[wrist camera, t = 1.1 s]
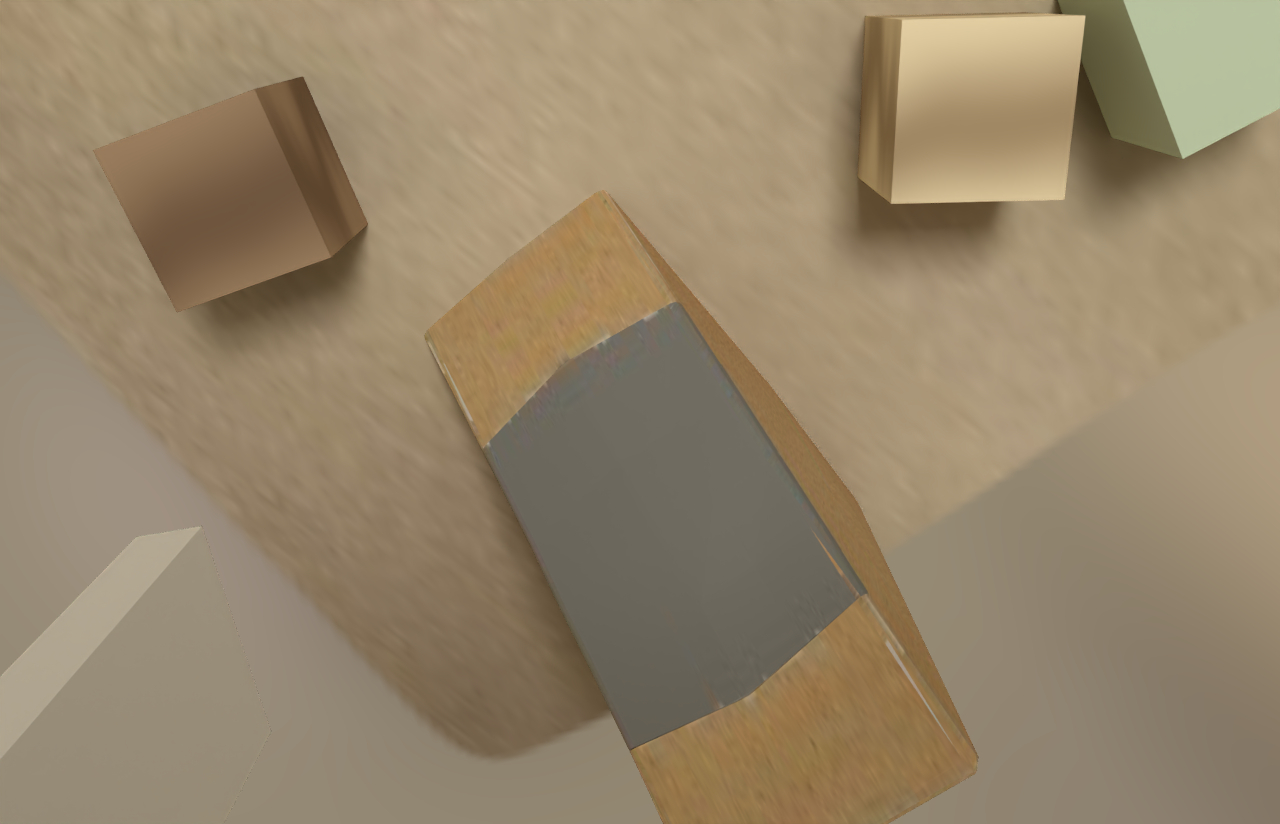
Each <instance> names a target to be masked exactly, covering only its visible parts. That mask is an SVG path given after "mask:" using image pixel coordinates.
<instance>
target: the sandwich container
mask: <svg viewBox="0 0 1280 824" xmlns="http://www.w3.org/2000/svg"><path fill="white" fill-rule="evenodd" d="M424 337H425V340H426V342H427V343H428V345H429V347H430V349H431V351H432V353H433V355H434V357H435V359H436V361H437V363H438V365H439V367H440V368H441V370H442V372H443V374H444V376H445V378H446V380H447V382H448V384H449V386H450V388H451V390H452V392H453V394H454V396H455V398H456V400H457V402H458V404H459V406H460V407H461V409H462V411H463V413H464V415H465V417H466V419H467V421H468V423H469V425H470V427H471V429H472V431H473V433H474V435H475V437H476V439H477V441H478V443H479V445H480V447H481V449H482V451H483V453H484V455H485V457H486V459H487V461H488V463H489V465H490V467H491V469H492V471H493V473H494V475H495V477H496V479H497V481H498V483H499V485H500V487H501V489H502V491H503V493H504V495H505V497H506V499H507V501H508V502H509V504H510V506H511V508H512V510H513V512H514V514H515V516H516V518H517V520H518V522H519V524H520V526H521V528H522V530H523V532H524V534H525V536H526V538H527V540H528V542H529V544H530V546H531V548H532V550H533V553H534V555H535V557H536V559H537V561H538V563H539V565H540V567H541V570H542V572H543V574H544V576H545V578H546V580H547V582H548V584H549V586H550V589H551V591H552V593H553V595H554V597H555V599H556V601H557V603H558V605H559V608H560V610H561V612H562V614H563V616H564V618H565V620H566V622H567V624H568V626H569V628H570V630H571V632H572V634H573V636H574V638H575V640H576V642H577V644H578V646H579V648H580V650H581V652H582V654H583V656H584V658H585V660H586V662H587V664H588V666H589V668H590V670H591V672H592V674H593V676H594V678H595V680H596V682H597V685H598V687H599V689H600V691H601V693H602V695H603V697H604V699H605V701H606V703H607V705H608V707H609V709H610V711H611V713H612V716H613V718H614V720H615V722H616V724H617V726H618V728H619V730H620V732H621V734H622V736H623V738H624V740H625V742H626V744H627V747H628V749H629V750H630V753H631V755H632V757H633V759H634V761H635V763H636V765H637V768H638V770H639V772H640V774H641V776H642V778H643V780H644V782H645V785H646V787H647V789H648V791H649V793H650V795H651V798H652V800H653V802H654V804H655V807H656V809H657V811H658V813H659V815H660V818H661V820H662V822H663V824H888V823H890V822H892V821H894V820H895V819H897V818H899V817H901V816H902V815H904V814H906V813H907V812H909V811H911V810H913V809H915V808H916V807H918V806H920V805H922V804H923V803H925V802H927V801H929V800H930V799H932V798H934V797H936V796H937V795H939V794H941V793H943V792H944V791H946V790H948V789H949V788H951V787H953V786H955V785H957V784H958V783H960V782H962V781H964V780H965V779H967V778H969V777H970V776H972V775H974V774H975V773H976V771H977V764H978V758H979V757H978V755H977V753H976V751H975V748H974V746H973V744H972V742H971V740H970V738H969V736H968V734H967V732H966V729H965V727H964V725H963V723H962V721H961V719H960V717H959V715H958V713H957V710H956V708H955V706H954V704H953V702H952V700H951V698H950V696H949V694H948V692H947V689H946V687H945V685H944V684H943V681H942V679H941V677H940V675H939V673H938V671H937V668H936V666H935V664H934V662H933V660H932V658H931V656H930V654H929V652H928V649H927V647H926V645H925V643H924V641H923V639H922V637H921V635H920V633H919V630H918V628H917V626H916V624H915V622H914V620H913V618H912V616H911V614H910V612H909V609H908V607H907V605H906V603H905V601H904V599H903V597H902V595H901V593H900V591H899V588H898V586H897V584H896V582H895V580H894V578H893V576H892V574H891V572H890V569H889V567H888V565H887V563H886V561H885V559H884V557H883V555H882V553H881V551H880V548H879V546H878V544H877V542H876V540H875V538H874V536H873V534H872V532H871V529H870V527H869V525H868V523H867V521H866V519H865V517H864V515H863V513H862V511H861V508H860V506H859V504H858V502H857V501H856V499H855V498H854V497H853V495H852V494H851V493H850V491H849V490H848V489H847V487H846V486H845V485H844V483H843V482H842V481H841V479H840V478H839V477H838V475H837V474H836V473H835V471H834V470H833V469H832V467H831V466H830V465H829V463H828V462H827V461H826V459H825V458H824V457H823V455H822V454H821V453H820V451H819V450H818V449H817V447H816V446H815V445H814V443H813V442H812V441H811V439H810V438H809V437H808V435H807V434H806V433H805V431H804V430H803V429H802V427H801V426H800V425H799V423H798V422H797V421H796V419H795V418H794V417H793V415H792V414H791V413H790V411H789V410H788V409H787V407H786V406H785V405H784V403H783V402H782V401H781V399H780V398H779V397H778V395H777V394H776V393H775V391H774V390H773V389H772V387H771V386H770V385H769V383H768V382H767V381H766V380H765V379H764V378H763V377H762V375H761V374H760V373H759V372H758V371H757V370H756V368H755V367H754V366H753V365H752V364H751V362H750V361H749V360H748V359H747V358H746V356H745V355H744V354H743V353H742V352H741V351H740V349H739V348H738V347H737V346H736V345H735V343H734V342H733V341H732V340H731V339H730V337H729V336H728V335H727V334H726V333H725V332H724V330H723V329H722V328H721V327H720V326H719V324H718V323H717V322H716V321H715V320H714V318H713V317H712V316H711V315H710V314H709V313H708V311H707V310H706V309H705V308H704V307H703V305H702V304H701V303H700V302H699V301H698V299H697V298H696V297H695V296H694V295H693V294H692V292H691V291H690V290H689V289H688V288H687V286H686V285H685V284H684V283H683V282H682V281H681V279H680V278H679V277H678V276H677V275H676V273H675V272H674V271H673V270H672V269H671V267H670V266H669V265H668V264H667V263H666V262H665V260H664V259H663V258H662V257H661V256H660V254H659V253H658V252H657V251H656V250H655V248H654V247H653V246H652V245H651V244H650V243H649V241H648V240H647V239H646V238H645V237H644V235H643V234H642V233H641V232H640V231H639V229H638V228H637V227H636V226H635V225H634V224H633V222H632V221H631V220H630V219H629V218H628V216H627V215H626V214H625V213H624V212H623V210H622V209H621V208H620V207H619V206H618V205H617V203H616V202H615V201H614V200H613V199H612V198H611V196H610V195H609V194H608V193H607V192H606V191H604V190H602V191H599V192H597V193H595V194H593V195H592V196H591V197H589V198H588V199H587V200H585V201H584V202H583V203H581V204H580V205H579V206H577V207H576V208H575V209H574V210H572V211H571V212H570V213H568V214H567V215H566V216H564V217H563V218H562V219H560V220H559V221H558V222H556V223H555V224H554V225H552V226H551V227H550V228H548V229H547V230H546V231H544V232H543V233H542V234H540V235H539V236H538V237H536V238H535V239H534V240H532V241H531V242H530V243H528V244H527V245H526V246H525V247H523V248H522V249H521V250H519V251H518V252H517V253H515V254H514V255H513V256H511V257H510V258H509V259H507V260H506V261H505V262H504V263H503V264H502V265H501V266H499V267H498V268H497V269H496V270H495V271H494V272H493V273H491V274H490V275H489V276H488V277H487V278H486V279H485V280H484V281H482V282H481V283H480V284H479V285H478V286H477V287H476V288H474V289H473V290H472V291H471V292H470V293H469V294H468V295H467V296H465V297H464V298H463V299H462V300H461V301H460V302H459V303H457V304H456V305H455V306H454V307H453V308H452V309H451V310H450V311H448V312H447V313H446V314H445V315H444V316H443V317H442V318H441V319H439V320H438V321H437V322H436V323H435V324H434V325H433V326H431V327H430V328H429V329H428V330H427V332H426V333H425V336H424Z"/></svg>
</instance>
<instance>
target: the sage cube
mask: <svg viewBox="0 0 1280 824" xmlns="http://www.w3.org/2000/svg"><path fill="white" fill-rule="evenodd" d="M1058 3H1059V6H1060V8H1061V11H1062V13H1063V14H1065V15H1085V25H1084V34H1083V42H1082V51H1081V61H1082V64H1083V66H1084V69H1085V71H1086V74H1087V76H1088V79H1089V81H1090V84H1091V86H1092V89H1093V92H1094V94H1095V97H1096V99H1097V102H1098V104H1099V107H1100V109H1101V112H1102V114H1103V117H1104V119H1105V122H1106V124H1107V127H1108V129H1109V132H1110V135H1111V137H1112V138H1115V139H1118V140H1121V141H1125V142H1128V143H1131V144H1135V145H1138V146H1141V147H1145V148H1148V149H1151V150H1155V151H1158V152H1161V153H1165V154H1168V155H1171V156H1175V157H1178V158H1181V159H1184V158H1186V157H1188V156H1190V155H1191V154H1193V153H1195V152H1197V151H1199V150H1201V149H1203V148H1205V147H1207V146H1209V145H1211V144H1213V143H1214V142H1216V141H1218V140H1220V139H1222V138H1224V137H1226V136H1228V135H1230V134H1232V133H1234V132H1235V131H1237V130H1239V129H1241V128H1243V127H1245V126H1247V125H1249V124H1251V123H1253V122H1255V121H1257V120H1258V119H1260V118H1262V117H1264V116H1266V115H1268V114H1270V113H1272V112H1274V111H1276V110H1278V109H1280V0H1058Z"/></svg>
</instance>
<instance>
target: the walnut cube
mask: <svg viewBox="0 0 1280 824" xmlns="http://www.w3.org/2000/svg"><path fill="white" fill-rule="evenodd" d="M93 151H94V153H95V155H96V157H97V159H98V161H99V163H100V165H101V167H102V169H103V171H104V173H105V175H106V177H107V178H108V180H109V182H110V184H111V186H112V188H113V190H114V192H115V194H116V196H117V198H118V200H119V202H120V204H121V206H122V207H123V209H124V211H125V213H126V215H127V217H128V219H129V221H130V223H131V225H132V227H133V229H134V231H135V233H136V234H137V236H138V238H139V240H140V242H141V244H142V246H143V248H144V250H145V252H146V254H147V256H148V258H149V260H150V261H151V263H152V265H153V267H154V269H155V271H156V273H157V275H158V277H159V279H160V281H161V283H162V285H163V287H164V289H165V290H166V292H167V294H168V296H169V298H170V300H171V302H172V304H173V306H174V308H175V310H176V312H180V311H183V310H185V309H188V308H191V307H194V306H197V305H199V304H202V303H205V302H208V301H211V300H213V299H216V298H219V297H222V296H225V295H227V294H230V293H233V292H236V291H239V290H241V289H244V288H247V287H250V286H253V285H255V284H258V283H261V282H264V281H266V280H269V279H272V278H275V277H278V276H280V275H283V274H286V273H289V272H292V271H294V270H297V269H300V268H303V267H306V266H308V265H311V264H314V263H317V262H320V261H322V260H325V259H328V258H331V257H332V256H333V255H334V254H335V253H337V252H338V251H339V250H340V249H341V248H342V247H343V246H344V245H345V244H347V243H348V242H349V241H350V240H351V239H352V238H353V237H354V236H355V235H357V234H358V233H359V232H360V231H361V230H362V229H363V228H364V227H365V226H367V225H368V223H367V221H366V218H365V216H364V214H363V212H362V209H361V207H360V205H359V202H358V200H357V198H356V196H355V193H354V191H353V189H352V187H351V184H350V182H349V180H348V178H347V175H346V173H345V171H344V168H343V166H342V164H341V162H340V159H339V157H338V155H337V153H336V150H335V148H334V146H333V143H332V141H331V139H330V137H329V134H328V132H327V130H326V128H325V125H324V123H323V121H322V118H321V116H320V114H319V112H318V109H317V107H316V105H315V103H314V100H313V98H312V96H311V93H310V91H309V89H308V87H307V84H306V82H305V80H304V78H303V77H299V78H295V79H292V80H288V81H284V82H280V83H276V84H273V85H269V86H265V87H261V88H257V89H254V90H251V91H248V92H246V93H243V94H240V95H238V96H235V97H233V98H230V99H227V100H225V101H222V102H219V103H217V104H214V105H211V106H209V107H206V108H203V109H201V110H198V111H195V112H193V113H190V114H188V115H185V116H182V117H180V118H177V119H174V120H172V121H169V122H166V123H164V124H161V125H158V126H156V127H153V128H151V129H148V130H145V131H143V132H140V133H137V134H135V135H132V136H129V137H127V138H124V139H121V140H119V141H116V142H114V143H111V144H108V145H106V146H103V147H100V148H98V149H95V150H93Z"/></svg>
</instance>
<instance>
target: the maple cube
mask: <svg viewBox="0 0 1280 824" xmlns="http://www.w3.org/2000/svg"><path fill="white" fill-rule="evenodd" d="M1084 25H1085V15H1065V14H1046V13H1026V12H1020V13H977V14H933V15H890V16H865V34H864V54H863V75H862V95H861V116H860V136H859V157H858V178H859V179H861V180H862V181H863V182H864V183H866V184H867V185H868V186H869V187H871V188H872V189H873V190H874V191H876V192H877V193H878V194H879V195H881V196H882V197H883V198H884V199H886V200H887V201H888V202H889V203H891V204H904V203H947V202H989V201H1031V200H1064V198H1065V189H1066V181H1067V172H1068V163H1069V155H1070V146H1071V137H1072V129H1073V120H1074V111H1075V103H1076V94H1077V85H1078V77H1079V68H1080V60H1081V51H1082V42H1083V34H1084Z"/></svg>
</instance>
